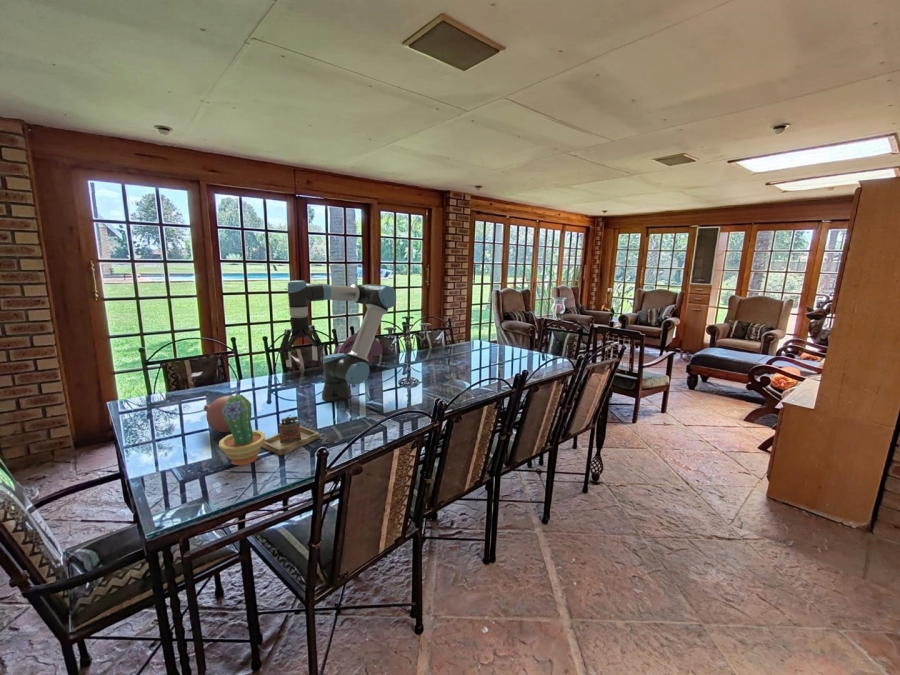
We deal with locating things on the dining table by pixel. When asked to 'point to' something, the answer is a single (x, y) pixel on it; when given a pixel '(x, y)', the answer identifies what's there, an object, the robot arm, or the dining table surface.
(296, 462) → the dining table surface
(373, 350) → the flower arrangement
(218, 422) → the brown rounded piece
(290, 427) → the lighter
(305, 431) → the tray
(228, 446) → the potted cactus
